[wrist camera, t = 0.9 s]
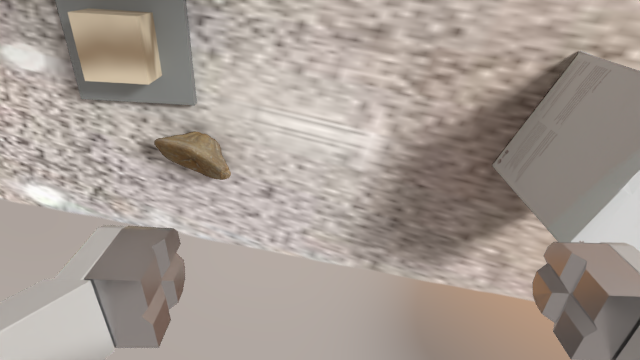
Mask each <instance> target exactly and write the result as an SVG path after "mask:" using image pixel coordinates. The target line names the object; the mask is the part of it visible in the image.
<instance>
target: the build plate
mask: <svg viewBox="0 0 640 360" xmlns="http://www.w3.org/2000/svg"><path fill="white" fill-rule="evenodd" d="M55 1H56V5H57V9H58V13H59V17H60V20H61V24H62V28H63V32H64V35H65V39H66V43H67V47H68V50H69V54H70V58H71V62H72V66H73V69H74V73H75V77H76V81H77V84H78V88H79V92H80V96H81V99H92V100H109V101H127V102H145V103H163V104H180V105H195V104H196V103H197V100H196V91H195V82H194V73H193V64H192V55H191V45H190V36H189V27H188V18H187V9H186V0H55ZM88 8H90V9H106V10H122V11H138V12H153V19H154V25H155V32H156V39H157V45H158V52H159V58H160V65H161V72H162V76H161V77H159V78H158V79H156V80H155V81H153V82H152V83H150V84H149V85H147V84H129V83H112V82H95V81H85V79H84V75H83V71H82V67H81V63H80V59H79V56H78V52H77V48H76V44H75V40H74V36H73V32H72V28H71V24H70V20H69V16H68V12H71V11H77V10H83V9H88Z"/></svg>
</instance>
